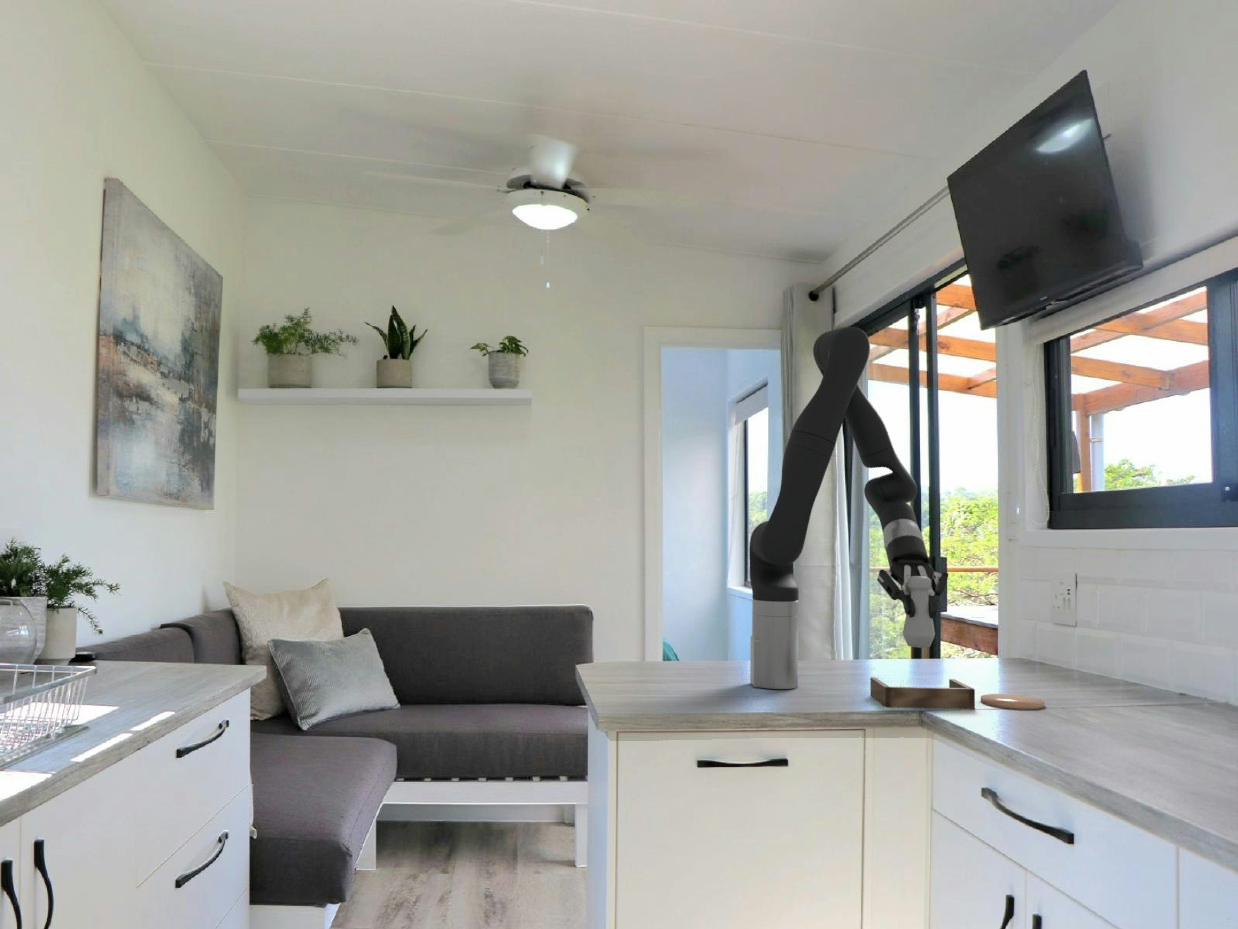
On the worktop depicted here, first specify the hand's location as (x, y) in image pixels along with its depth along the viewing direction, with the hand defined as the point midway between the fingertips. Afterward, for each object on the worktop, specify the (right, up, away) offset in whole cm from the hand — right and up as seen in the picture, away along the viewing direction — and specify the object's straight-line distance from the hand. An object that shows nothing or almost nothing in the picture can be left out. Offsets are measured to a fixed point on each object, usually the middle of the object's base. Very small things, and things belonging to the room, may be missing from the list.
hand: (922, 615), depth 176 cm
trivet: (+17, -17, +1) cm, 24 cm away
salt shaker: (0, -6, +2) cm, 6 cm away
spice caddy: (0, -16, +1) cm, 16 cm away
